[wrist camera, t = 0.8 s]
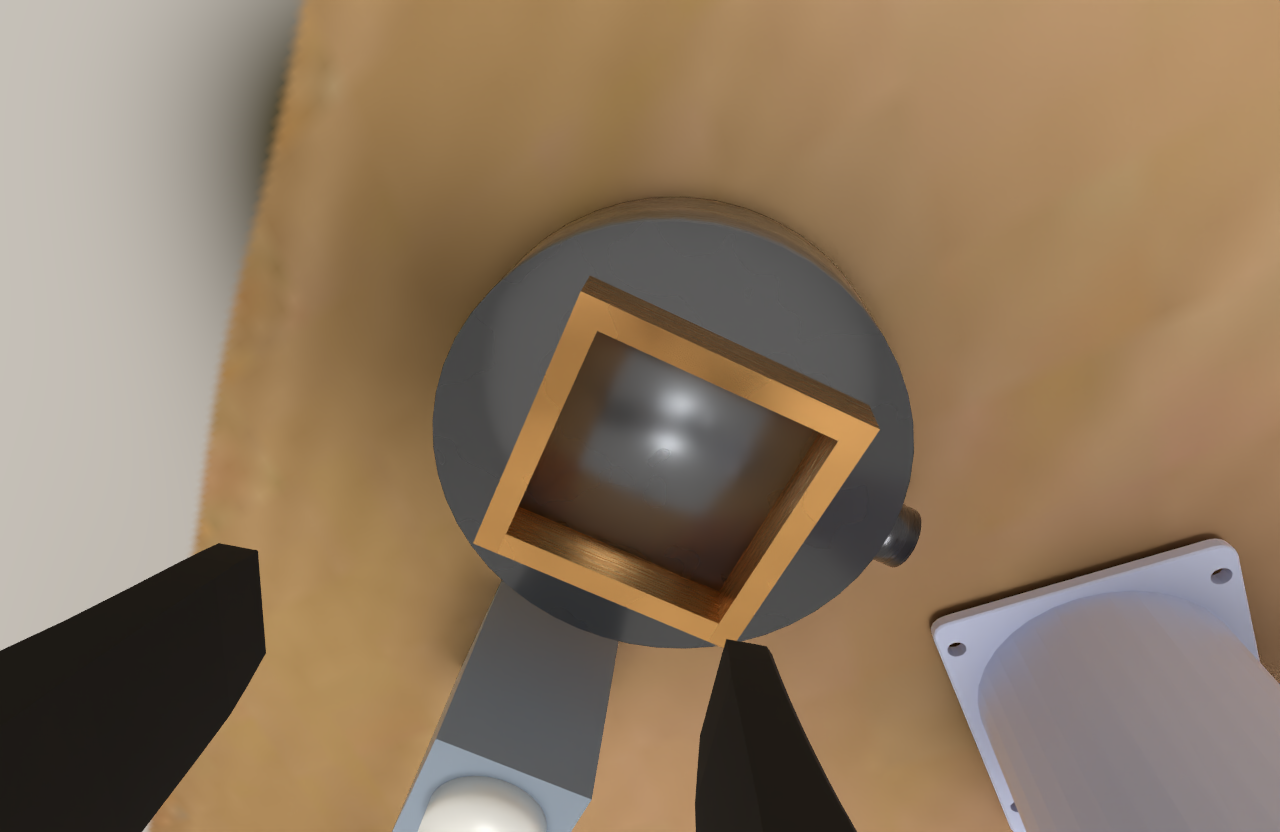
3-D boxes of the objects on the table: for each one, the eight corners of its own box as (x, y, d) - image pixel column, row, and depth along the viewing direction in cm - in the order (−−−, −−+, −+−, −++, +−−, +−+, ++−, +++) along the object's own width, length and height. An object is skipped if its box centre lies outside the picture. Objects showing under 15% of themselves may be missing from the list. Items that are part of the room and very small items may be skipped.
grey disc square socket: (1013, 335, 18) (1090, 407, 15) (791, 643, 23) (806, 757, 19) (558, 114, 17) (514, 129, 13) (420, 486, 22) (358, 574, 18)
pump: (620, 629, 23) (586, 830, 17) (559, 734, 26) (510, 945, 20) (501, 580, 23) (423, 767, 17) (450, 691, 25) (365, 892, 19)
